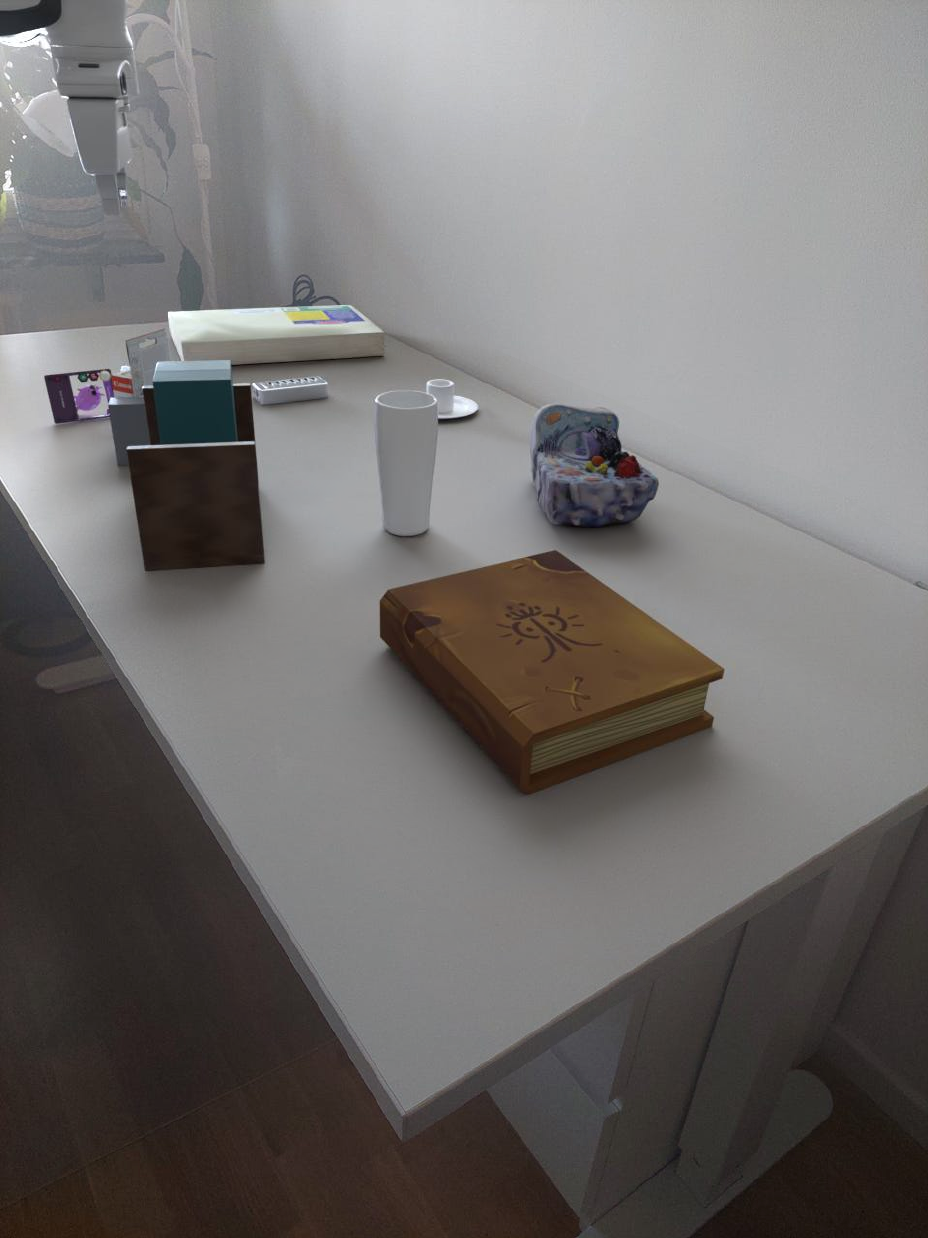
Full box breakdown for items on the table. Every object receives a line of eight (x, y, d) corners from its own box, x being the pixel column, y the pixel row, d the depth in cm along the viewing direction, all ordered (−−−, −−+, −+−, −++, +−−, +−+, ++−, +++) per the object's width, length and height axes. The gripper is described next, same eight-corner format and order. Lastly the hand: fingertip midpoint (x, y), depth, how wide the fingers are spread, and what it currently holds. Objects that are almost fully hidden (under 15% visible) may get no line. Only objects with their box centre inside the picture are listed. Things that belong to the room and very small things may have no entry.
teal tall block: (170, 513, 105) (152, 381, 98) (173, 486, 112) (157, 361, 104) (242, 509, 107) (230, 379, 99) (241, 483, 114) (230, 359, 106)
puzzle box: (169, 336, 178) (182, 368, 159) (166, 311, 176) (178, 341, 156) (354, 327, 189) (387, 357, 170) (354, 304, 187) (387, 331, 168)
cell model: (607, 390, 118) (676, 447, 102) (597, 469, 124) (661, 536, 108) (509, 393, 115) (564, 453, 99) (503, 475, 121) (554, 544, 105)
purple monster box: (44, 374, 130) (111, 367, 134) (40, 378, 135) (105, 371, 139) (55, 423, 132) (121, 415, 136) (51, 425, 136) (115, 417, 140)
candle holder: (384, 407, 144) (384, 379, 142) (443, 394, 151) (444, 367, 149) (434, 428, 137) (434, 399, 135) (493, 413, 144) (495, 385, 142)
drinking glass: (396, 546, 102) (396, 412, 95) (365, 524, 107) (362, 395, 99) (447, 532, 106) (451, 402, 98) (414, 511, 110) (415, 386, 103)
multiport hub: (329, 397, 148) (328, 382, 147) (261, 405, 143) (260, 390, 142) (319, 389, 151) (318, 375, 150) (253, 397, 147) (251, 382, 145)
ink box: (120, 447, 126) (102, 336, 118) (159, 430, 132) (145, 324, 125) (141, 452, 124) (125, 340, 117) (180, 434, 131) (167, 328, 123)
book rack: (144, 571, 95) (126, 449, 89) (157, 492, 113) (142, 385, 106) (264, 563, 98) (255, 444, 91) (259, 487, 115) (250, 382, 109)
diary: (380, 647, 84) (379, 591, 81) (550, 602, 93) (555, 549, 90) (519, 798, 67) (524, 734, 64) (712, 726, 76) (725, 666, 73)
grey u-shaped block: (117, 465, 120) (108, 404, 116) (130, 420, 135) (121, 365, 131) (174, 463, 121) (166, 402, 117) (180, 419, 136) (173, 364, 132)
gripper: (80, 75, 114) (99, 199, 121) (53, 77, 97) (78, 221, 104) (133, 76, 115) (150, 198, 122) (117, 78, 98) (137, 220, 105)
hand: (117, 209), depth 113 cm, fingers open, 8 cm apart
